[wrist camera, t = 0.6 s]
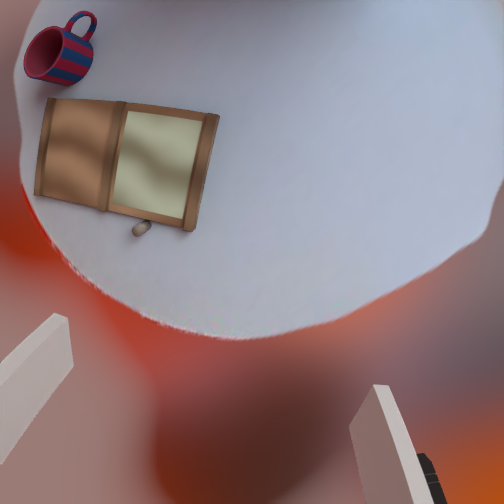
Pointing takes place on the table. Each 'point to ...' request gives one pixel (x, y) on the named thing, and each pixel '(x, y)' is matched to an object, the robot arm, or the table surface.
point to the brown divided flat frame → (126, 158)
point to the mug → (60, 53)
